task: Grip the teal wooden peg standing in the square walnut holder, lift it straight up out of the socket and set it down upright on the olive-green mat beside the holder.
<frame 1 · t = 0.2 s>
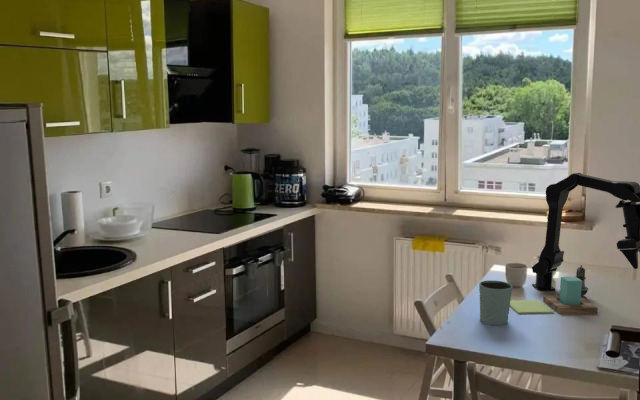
olive mat: (529, 307, 215), on the table
green cup: (494, 321, 202), on the table
walnut holder: (569, 307, 216), on the table
dark grey upright piece: (578, 298, 226), on the table
teal peg: (570, 293, 215), in the walnut holder
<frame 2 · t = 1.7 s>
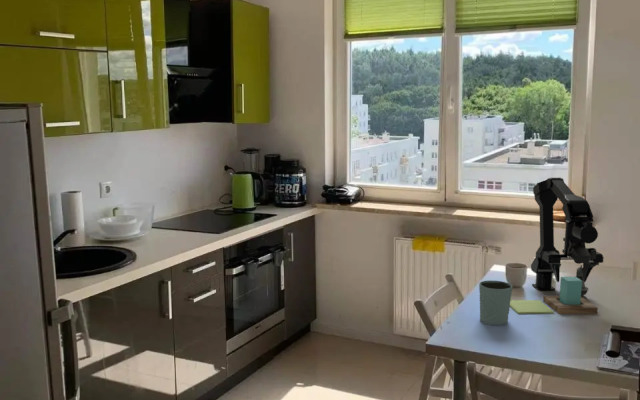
hand: (571, 281, 214), 9 cm above the table, tool pointing down, fingers open, 9 cm apart
nothing on the table moved.
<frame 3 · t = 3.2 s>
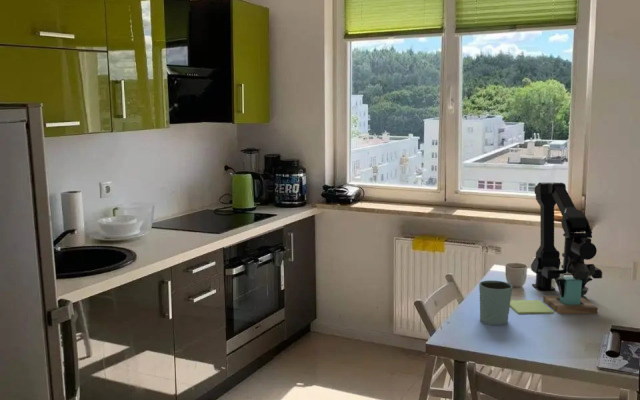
hand: (570, 297, 215), 4 cm above the table, tool pointing down, fingers closed on teal peg, 5 cm apart
teal peg: (570, 292, 215), in the walnut holder, touching gripper
everything else where it was.
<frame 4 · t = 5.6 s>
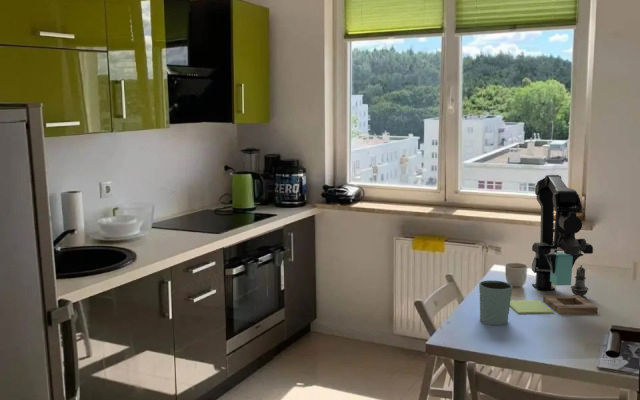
hand: (560, 273, 214), 12 cm above the table, tool pointing down, fingers closed on teal peg, 5 cm apart
teal peg: (561, 268, 213), point 14 cm above the table, touching gripper
everything else where it was.
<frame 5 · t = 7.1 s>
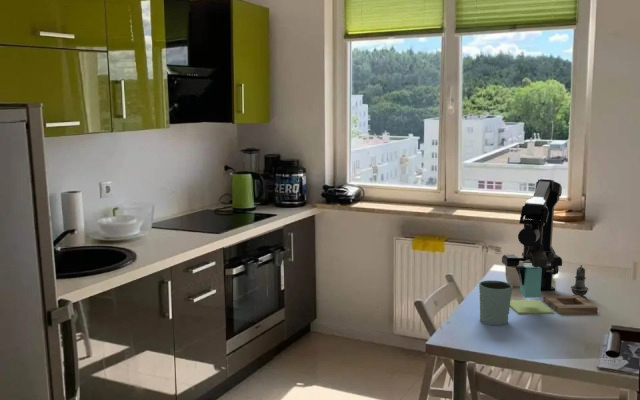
hand: (530, 285, 214), 8 cm above the table, tool pointing down, fingers closed on teal peg, 5 cm apart
teal peg: (530, 280, 214), point 9 cm above the table, touching gripper
everything else where it was.
when the fingers open (5 cm above the table, at t = 8.3 s): teal peg drops 1 cm, resting on olive mat.
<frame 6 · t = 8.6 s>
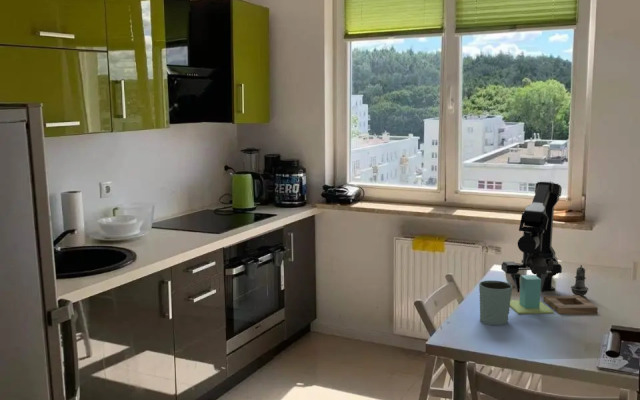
hand: (529, 292, 214), 5 cm above the table, tool pointing down, fingers open, 8 cm apart
teal peg: (530, 291, 214), on the olive mat, point 6 cm above the table
everything else where it was.
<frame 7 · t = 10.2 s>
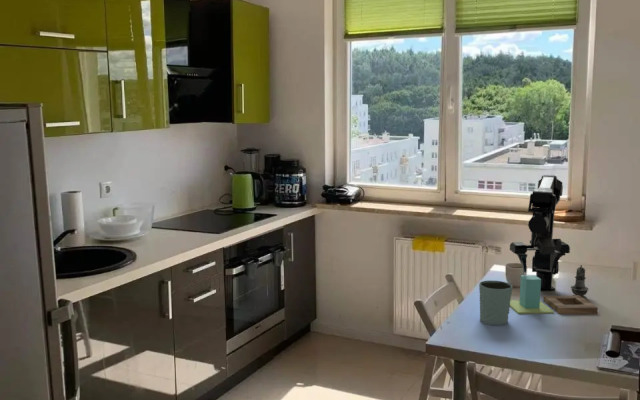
hand: (538, 272, 216), 12 cm above the table, tool pointing down, fingers open, 9 cm apart
nothing on the table moved.
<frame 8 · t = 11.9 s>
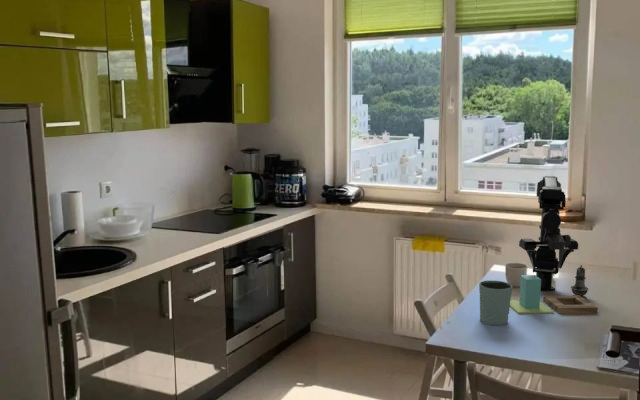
hand: (547, 268, 219), 12 cm above the table, tool pointing down, fingers open, 9 cm apart
nothing on the table moved.
at the end: teal peg inside the target area on the olive mat (0.0 cm from its centre), point 5.6 cm above the olive mat's base; teal peg tilted 0°; the gripper is holding nothing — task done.
